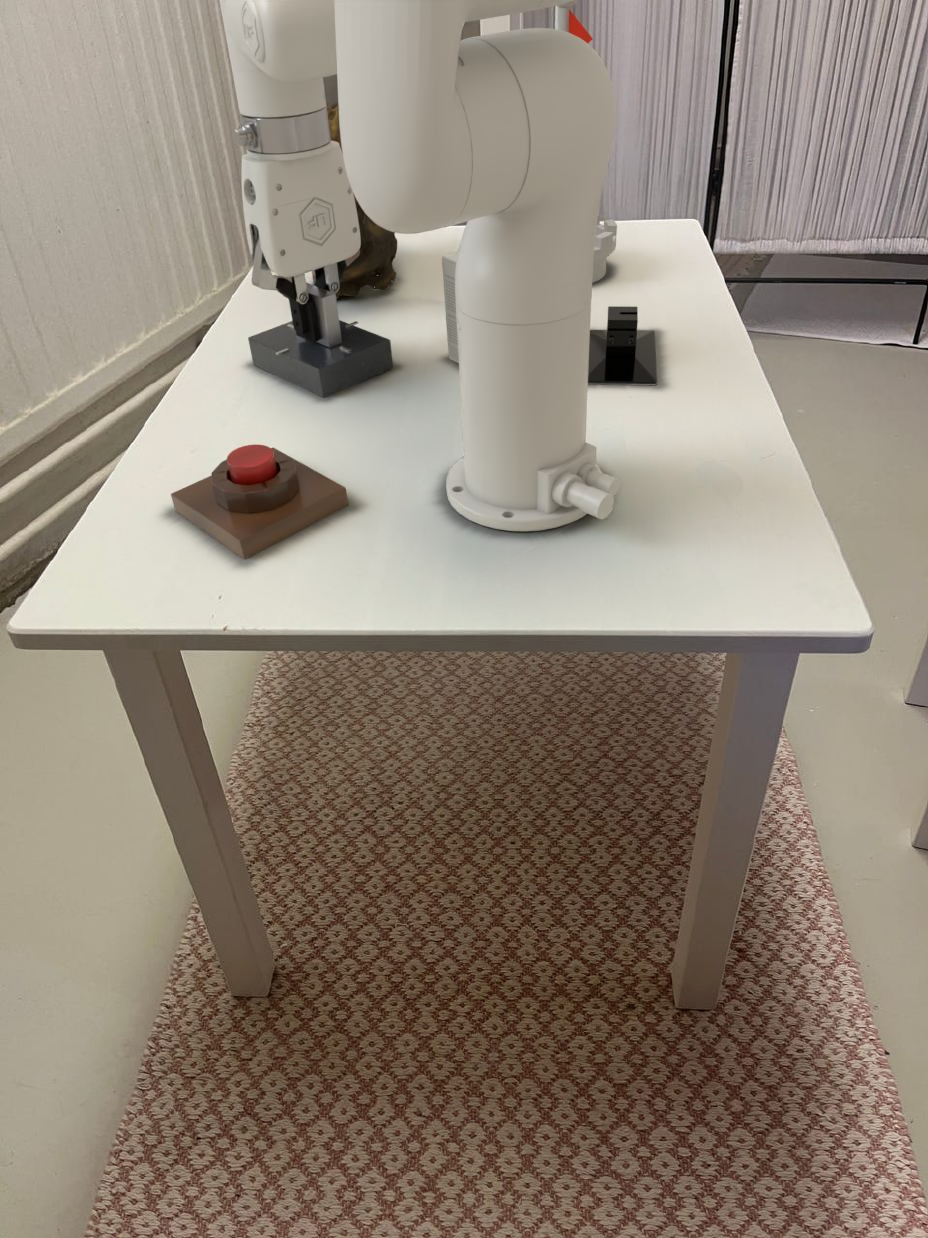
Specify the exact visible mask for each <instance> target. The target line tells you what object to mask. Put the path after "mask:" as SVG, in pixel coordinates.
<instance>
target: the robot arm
mask: <svg viewBox="0 0 928 1238" xmlns="http://www.w3.org/2000/svg"><path fill="white" fill-rule="evenodd" d="M218 1H219V6H220V7H219V8H220V12H221V17H222V22H223V26H224V27H223V29H224V35H225V38H226V44H227V45H226V46H227V51H228V57H229V61H230V67H231V71H232V78H233V82H234V83H233V84H234V90H235V95H236V100H237V106H238V111H239V115H240V116H238V120H239V125H240V126H238V128H234V129H232V130H231V134H230V135H231V141H232V143H233V144H234V145H235V146H236V147H242V146H243V147H244V149H245V150H246V153H245V154H242V155H241V167H240V168H241V175H240V176H241V177H240V178H241V198H242V199H241V200H242V209H243V211H242V212H243V218H244V226H245V232H246V239H247V244H248V248H249V249H248V250H249V254H250V258H251V261H252V263H253V264H252V272H251V285H252V286H254V287H256V288H259V289H262V290H267V291H268V290H269V291H276V292H277V293H280V295H282V296H283V297H284V298H286V299H288V304H289V308H290V314H291V321H293V326H294V329H295V331H296V333H297V335H298V336H300V337H302V338H304V339H307V340H309V341H311V342H317V341H319V338H320V336H319V330H318V323H317V317H316V310H315V304H314V302H312V301H310V300H309V299H308V298H309V297H308V290H307V285H306V283H307V280H306V275H305V274H306V273H309V272H311V275H312V282H313V285H314V286H317V287H319V288H322V289H325V290H327V291H330V292H332V293H336V292H338V290H339V280H340V279H341V277H342V275H343V273H344V271H345V269H346V266H348V265H349V264H351V263H352V262H353V261H354V260H355V259H356V258H357V257H358V256H359V254H360V250H359V249H360V245H361V238H360V229H359V222H358V215H357V210H356V204H355V199H354V195H355V197H356V199H357V201H358V203H359V205H360V206H361V208H362V209H363V211H364V212H365V214H366V215H367V216H368V217H369V218H370V219H371V220H372V221H373V222H374V223H376V224H377V225H379V226H380V227H382V228H384V229H386V230H388V231H391V232H395V234H403V235H412V234H413V235H414V234H420V233H426V232H433V231H435V230H440V229H443V228H447V227H451V226H455V225H459V224H462V223H466V225H465V228H464V230H463V233H462V237H461V239H460V243H459V247H458V250H457V252H458V256H457V261H456V269H455V297H456V319H457V337H458V355H459V364H458V370H459V371H458V372H459V390H460V392H459V393H460V407H461V409H460V410H461V427H462V444H463V447H462V448H463V456H462V457H461V458H460V459H458V460H457V461H456V462H455V463H454V464H453V465H452V466H451V468H450V469H449V470H448V472H447V475H446V478H445V483H446V484H445V488H446V495H447V500H448V501H449V504H450V506H451V507H452V508H453V509H454V510H455V511H456V512H457V513H458V514H459V515H461V516H463V517H464V518H466V519H467V520H468V521H471V522H474V523H475V524H478V525H480V526H484V527H487V528H490V529H494V530H500V531H501V530H502V531H507V532H537V531H538V532H539V531H545V530H550V529H551V530H552V529H556V528H559V527H563V526H565V525H568V524H572V523H573V522H575V521H578V520H580V519H581V518H584V516H586V515H587V514H589V515H590V516H592V517H595V518H597V519H599V520H604V519H606V518H608V516H609V515H610V514H611V513H612V511H613V510H614V509H613V508H614V505H615V498H614V497H615V496H616V495H617V494H618V492H619V491H620V488H621V480H620V479H619V478H616V477H615V476H611V475H609V474H607V473H603V471H602V470H601V467H600V466H599V465H598V463H597V446H595V445H593V444H590V443H588V442H587V441H586V438H587V418H588V417H587V415H588V414H587V413H588V391H589V390H588V389H589V384H588V366H589V341H590V330H591V317H592V316H591V312H592V296H593V283H592V277H593V258H594V245H595V234H596V224H597V218H598V214H599V211H600V210H599V209H600V205H601V200H602V194H603V189H604V185H605V182H606V177H607V172H608V167H609V164H610V159H611V155H612V150H613V145H614V144H613V143H614V137H615V128H616V98H615V92H614V86H613V83H612V79H611V76H610V73H609V71H608V69H607V66H606V65H605V63H604V61H603V60H602V58H601V56H600V55H599V54H598V52H597V51H596V50H595V49H594V48H593V47H592V46H591V45H590V44H589V43H588V44H587V43H586V42H585V41H584V40H582V39H581V38H579V37H577V36H575V35H573V34H571V33H568V32H565V31H561V30H558V28H557V29H556V28H550V27H547V28H546V27H529V28H519V29H513V30H507V31H500V32H495V33H489V34H483V35H477V36H472V37H471V36H470V37H467V38H464V39H461V38H462V33H463V28H464V23H469V22H474V21H475V22H476V21H482V20H486V19H494V18H497V17H498V18H500V17H505V16H510V15H511V16H512V15H515V14H522V13H527V12H533V11H539V10H544V9H550V8H553V7H557V6H558V5H562V4H565V3H568V2H571V1H574V0H218ZM335 75H336V78H337V79H336V80H337V81H336V82H337V103H338V104H337V106H339V125H340V136H341V145H342V151H341V148H340V145H339V143H338V142H336V141H331V137H330V129H329V121H328V113H327V106H326V103H327V99H326V98H327V97H326V91H325V83H324V78H327V77H328V78H329V77H331V76H335ZM342 152H343V154H342ZM353 193H354V194H353ZM272 273H274V274H272Z"/></svg>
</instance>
